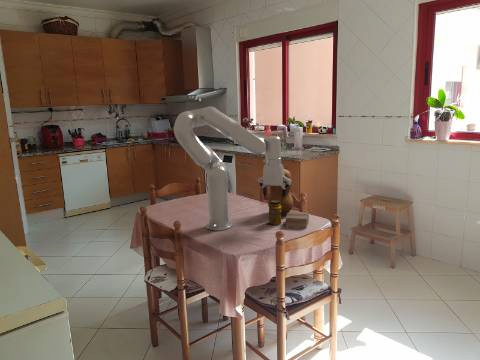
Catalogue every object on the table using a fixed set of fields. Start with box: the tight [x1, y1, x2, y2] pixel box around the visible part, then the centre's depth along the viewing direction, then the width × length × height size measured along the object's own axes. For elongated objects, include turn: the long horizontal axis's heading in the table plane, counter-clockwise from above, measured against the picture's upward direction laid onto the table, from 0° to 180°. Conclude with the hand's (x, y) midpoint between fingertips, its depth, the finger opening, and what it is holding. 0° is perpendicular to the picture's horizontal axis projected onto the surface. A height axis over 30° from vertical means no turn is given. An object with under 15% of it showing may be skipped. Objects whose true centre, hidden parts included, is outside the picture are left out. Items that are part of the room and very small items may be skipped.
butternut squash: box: [267, 168, 294, 216], centre depth 203 cm, size 14×13×25 cm
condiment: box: [263, 200, 286, 228], centre depth 189 cm, size 7×8×12 cm
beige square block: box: [285, 211, 310, 229], centre depth 188 cm, size 10×10×5 cm
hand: (274, 196), depth 187 cm, fingers open, 9 cm apart
